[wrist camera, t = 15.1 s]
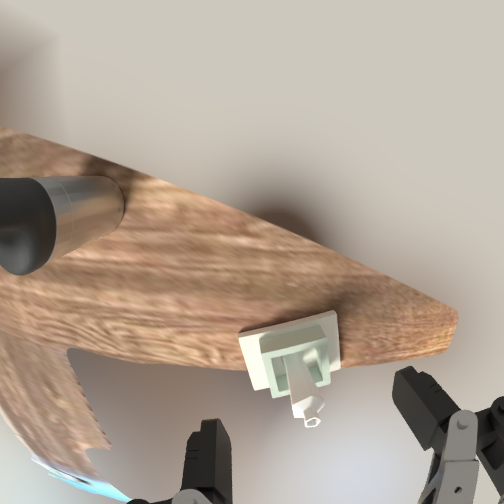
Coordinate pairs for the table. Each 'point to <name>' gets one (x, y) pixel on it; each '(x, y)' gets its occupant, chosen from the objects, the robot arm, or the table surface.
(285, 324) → the stand
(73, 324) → the table surface
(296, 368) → the perfume bottle
